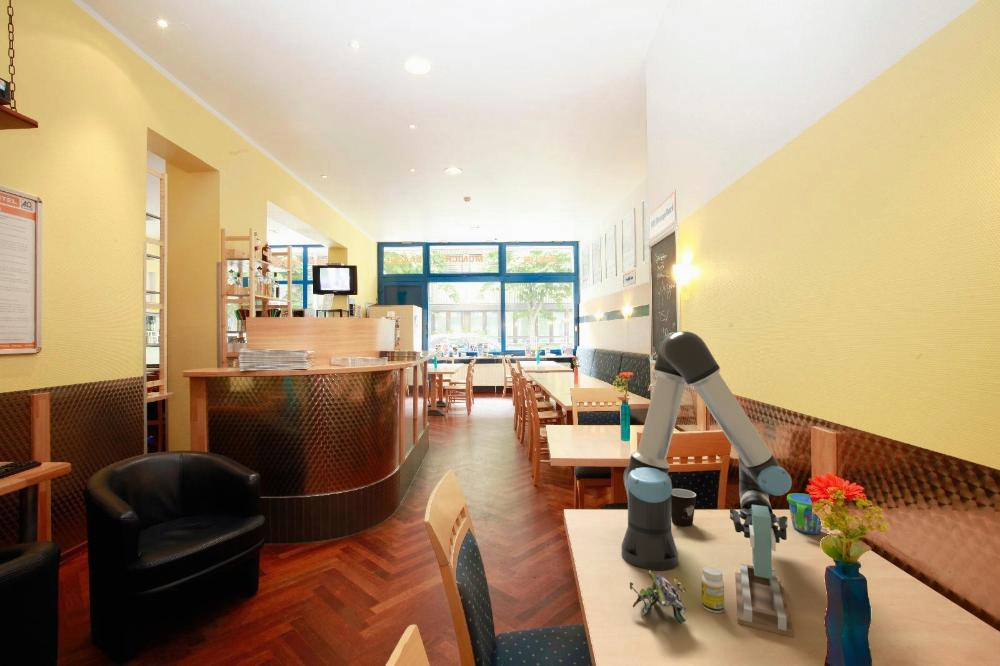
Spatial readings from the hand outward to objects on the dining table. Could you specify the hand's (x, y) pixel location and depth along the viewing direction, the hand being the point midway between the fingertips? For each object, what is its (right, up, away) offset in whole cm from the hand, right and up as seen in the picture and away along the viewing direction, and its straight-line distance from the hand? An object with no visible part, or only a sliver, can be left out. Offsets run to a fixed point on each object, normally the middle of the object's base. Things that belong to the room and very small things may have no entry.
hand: (763, 542), depth 104 cm
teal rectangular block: (+2, -9, +5) cm, 10 cm away
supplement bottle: (-12, -14, -1) cm, 19 cm away
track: (0, -14, +1) cm, 14 cm away
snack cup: (+38, -15, +42) cm, 59 cm away
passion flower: (-26, -14, -5) cm, 30 cm away
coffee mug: (-1, -15, +47) cm, 49 cm away
